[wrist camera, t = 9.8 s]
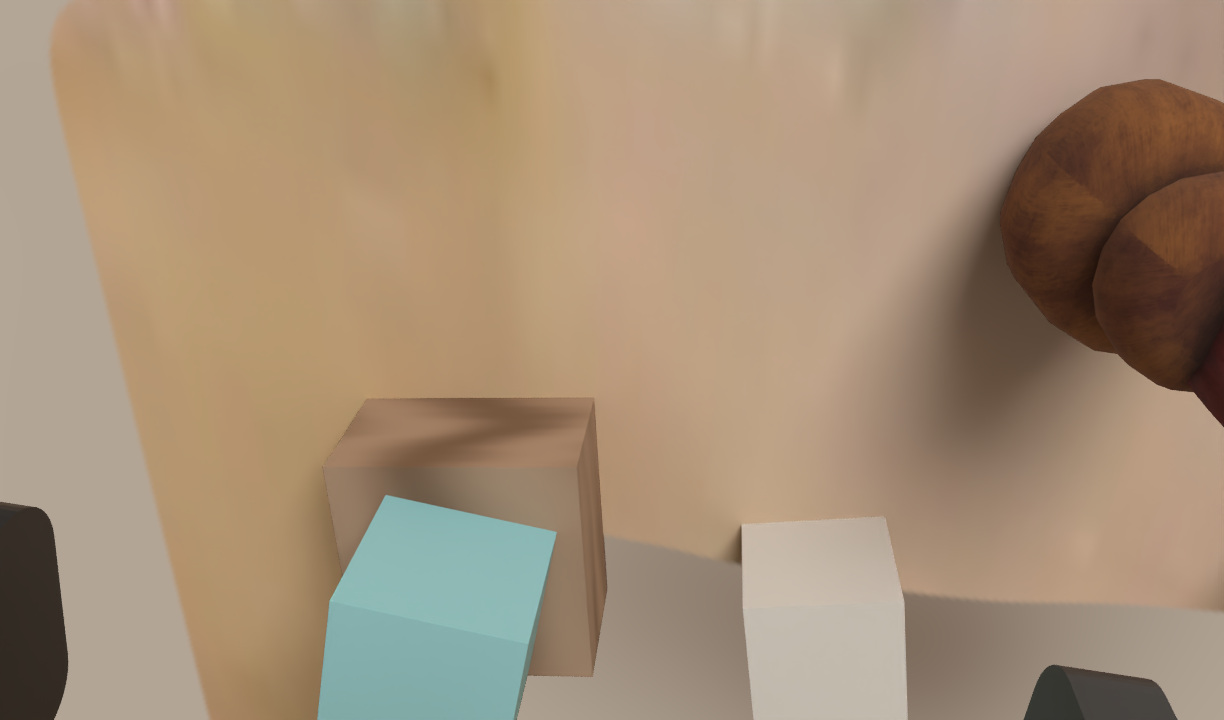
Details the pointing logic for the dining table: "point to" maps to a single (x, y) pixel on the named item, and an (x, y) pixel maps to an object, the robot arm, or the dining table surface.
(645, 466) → the dining table surface
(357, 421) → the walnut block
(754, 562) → the grey cube
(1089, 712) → the robot arm
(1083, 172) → the wooden figurine
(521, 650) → the teal cube
